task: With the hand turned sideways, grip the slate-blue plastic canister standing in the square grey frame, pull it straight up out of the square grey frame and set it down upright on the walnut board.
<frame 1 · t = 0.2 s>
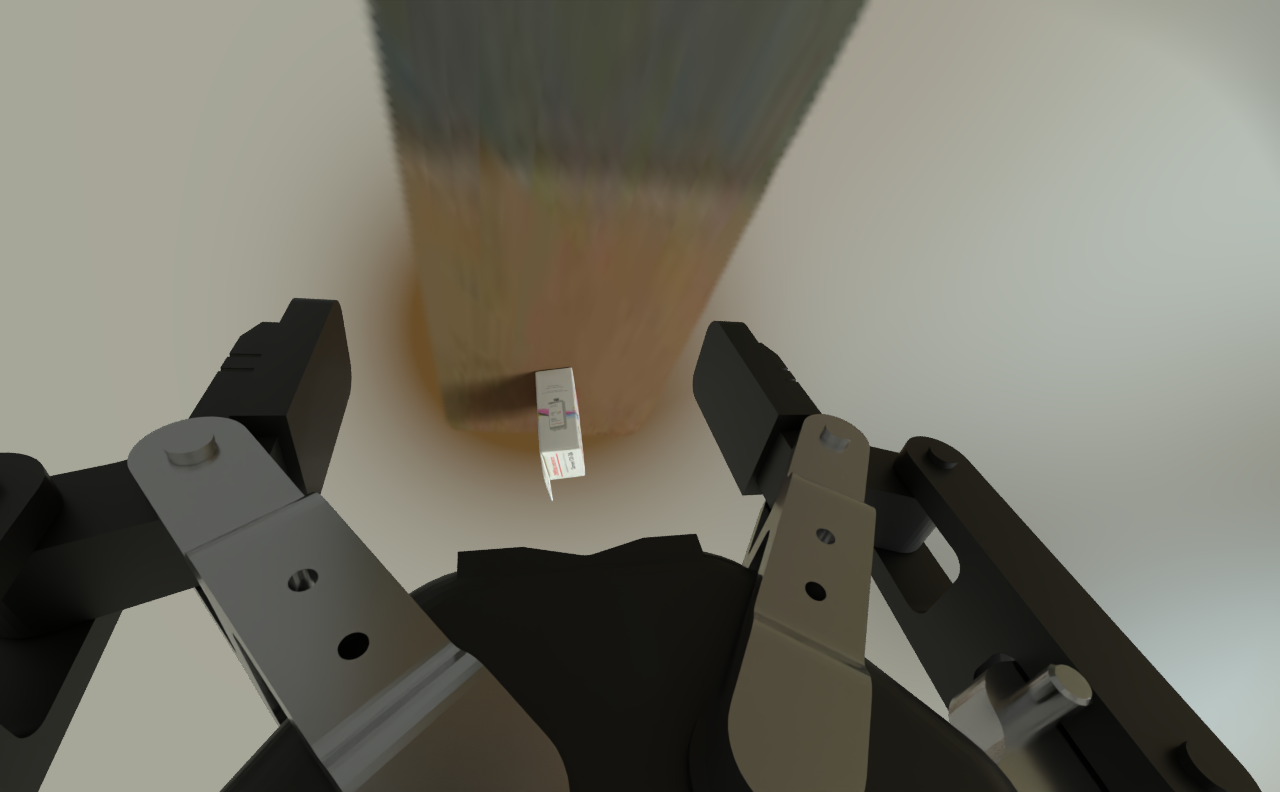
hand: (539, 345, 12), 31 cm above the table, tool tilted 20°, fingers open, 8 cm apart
ink cartridge box: (557, 384, 71), on the table
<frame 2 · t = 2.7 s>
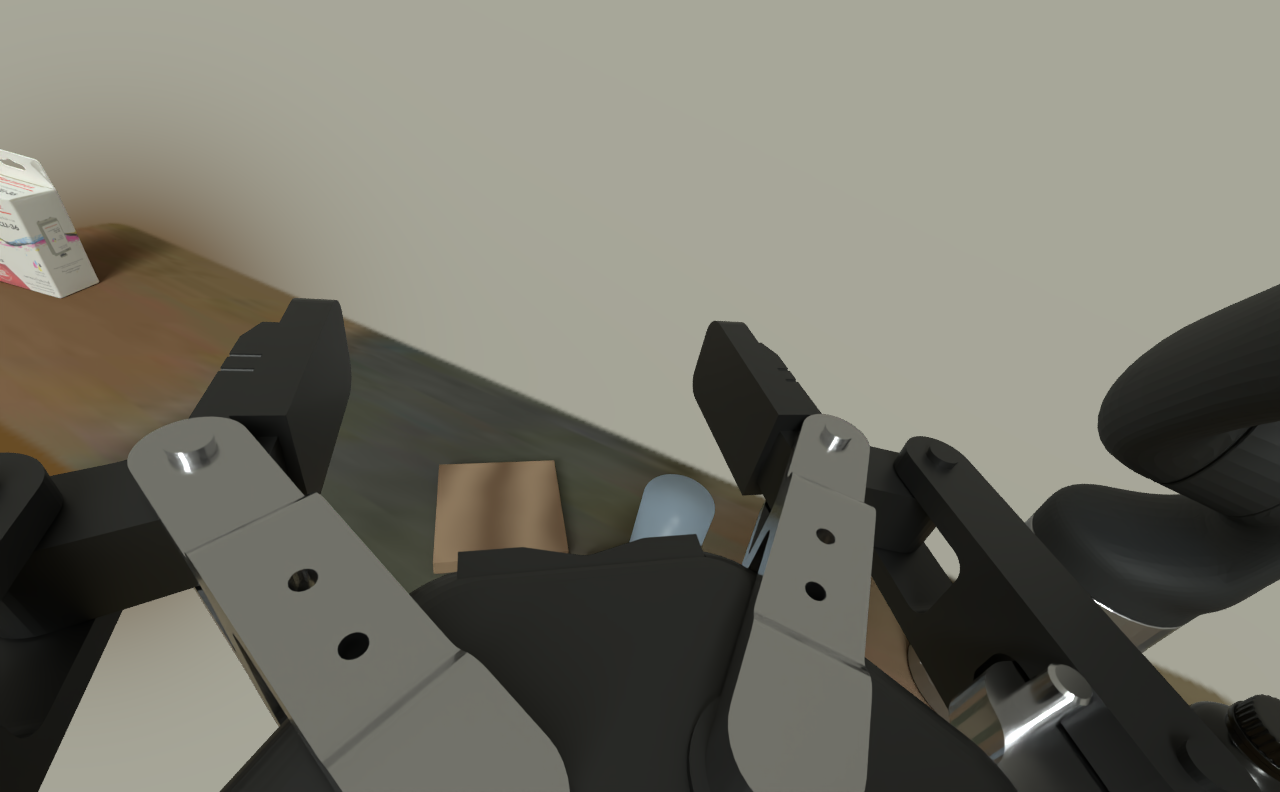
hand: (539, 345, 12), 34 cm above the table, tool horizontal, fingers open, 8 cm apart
ink cartridge box: (50, 284, 64), on the table
canister: (658, 561, 40), in the square grey frame
walnut board: (500, 516, 50), on the table
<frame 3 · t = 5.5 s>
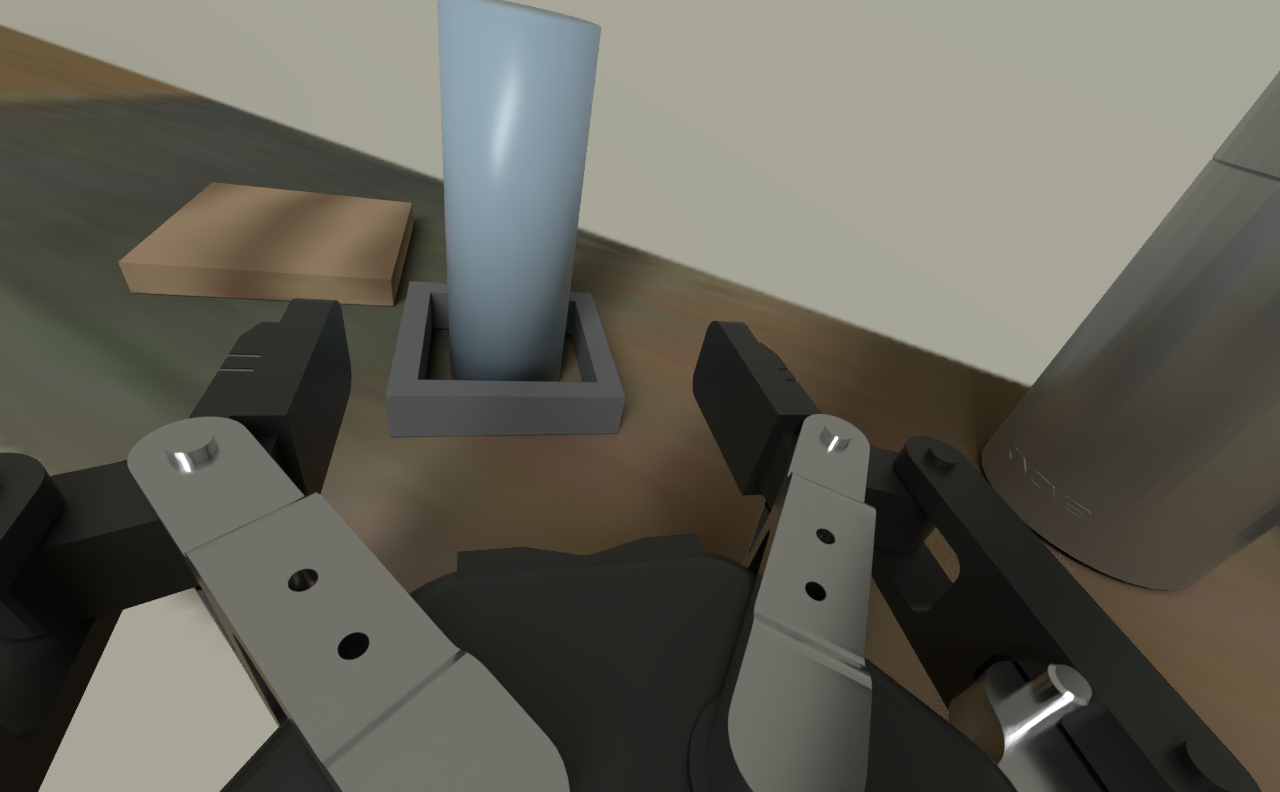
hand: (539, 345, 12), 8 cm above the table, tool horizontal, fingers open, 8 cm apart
canister: (512, 226, 21), in the square grey frame
square grey frame: (506, 370, 25), on the table
walnut board: (299, 252, 30), on the table
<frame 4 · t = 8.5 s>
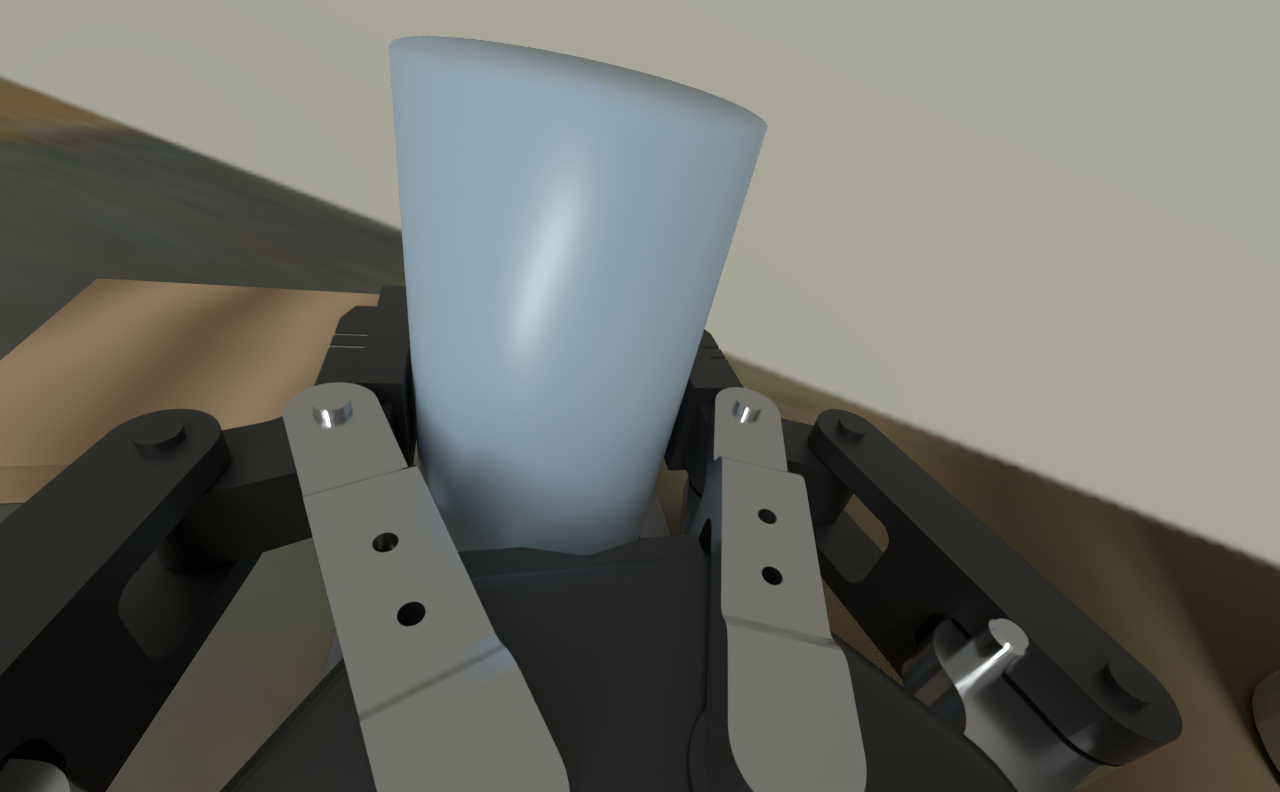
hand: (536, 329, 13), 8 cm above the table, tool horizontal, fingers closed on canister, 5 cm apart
canister: (544, 449, 11), in the square grey frame, touching gripper
square grey frame: (522, 622, 16), on the table
walnut board: (215, 388, 21), on the table
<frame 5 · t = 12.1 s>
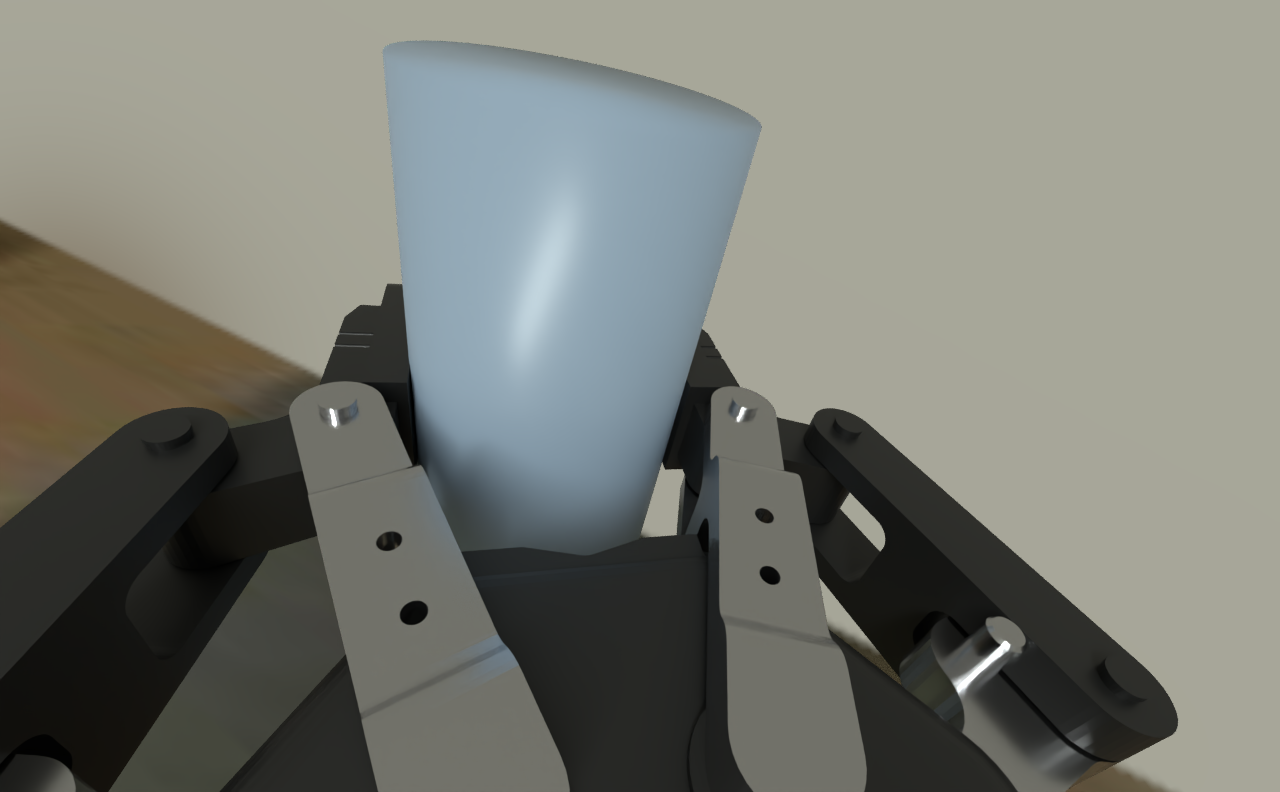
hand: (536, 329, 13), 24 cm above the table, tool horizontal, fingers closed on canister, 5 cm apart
canister: (543, 451, 11), point 22 cm above the table, touching gripper
when the fingers open (11 cm above the table, at t = 15.5 s): canister drops 1 cm, resting on walnut board.
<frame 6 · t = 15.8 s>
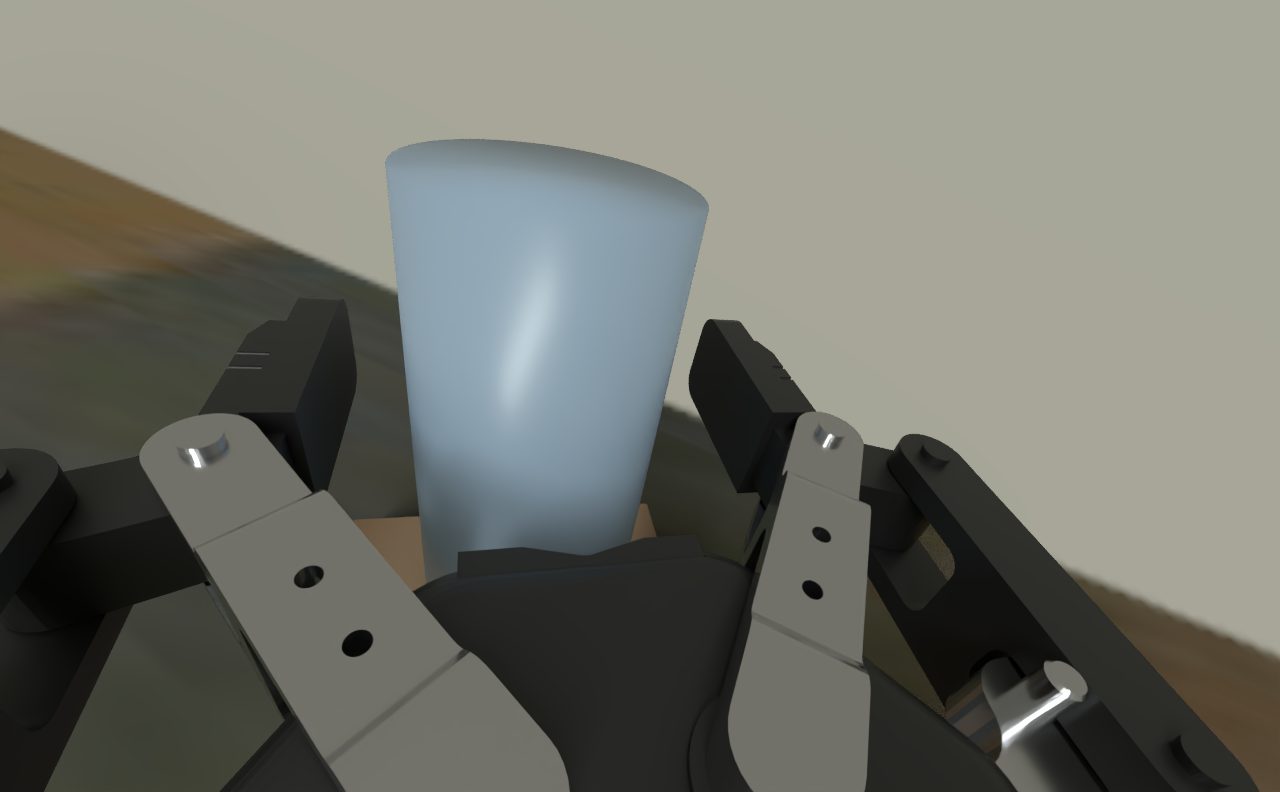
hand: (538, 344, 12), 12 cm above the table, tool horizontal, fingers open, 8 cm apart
canister: (533, 488, 12), on the walnut board, point 9 cm above the table
walnut board: (517, 672, 17), on the table
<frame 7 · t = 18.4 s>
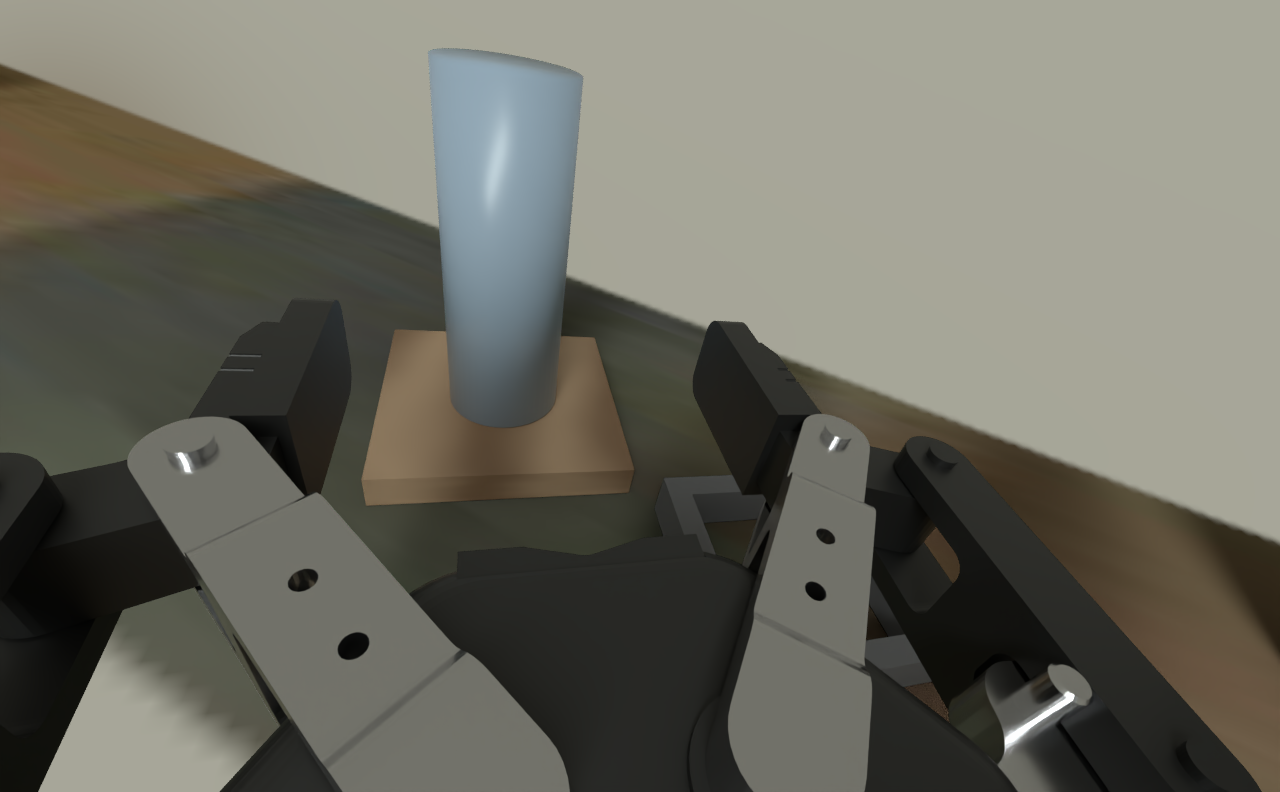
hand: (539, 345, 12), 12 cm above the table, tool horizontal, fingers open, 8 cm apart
canister: (505, 260, 22), on the walnut board, point 9 cm above the table
square grey frame: (783, 586, 22), on the table
walnut board: (502, 416, 27), on the table
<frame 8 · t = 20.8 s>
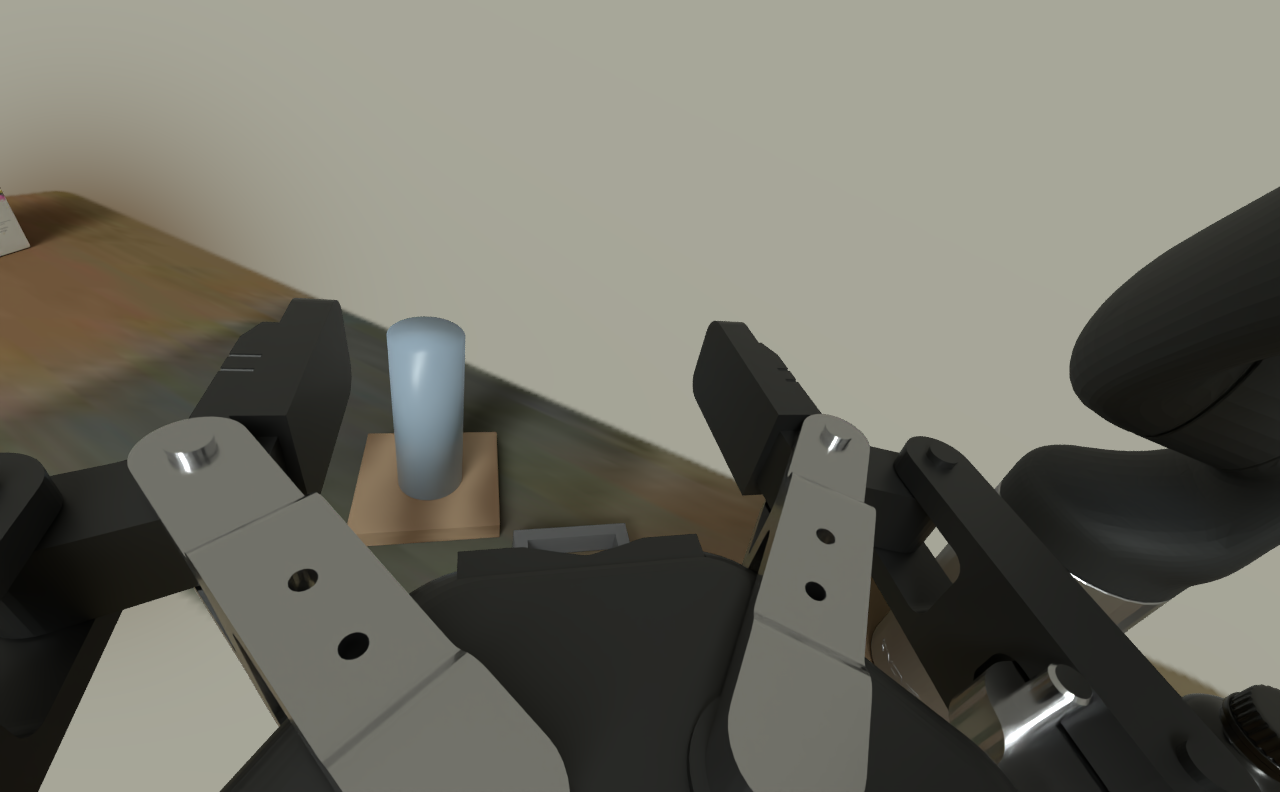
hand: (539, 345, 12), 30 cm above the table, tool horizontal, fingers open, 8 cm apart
canister: (428, 413, 41), on the walnut board, point 9 cm above the table
square grey frame: (575, 590, 41), on the table
walnut board: (431, 488, 46), on the table
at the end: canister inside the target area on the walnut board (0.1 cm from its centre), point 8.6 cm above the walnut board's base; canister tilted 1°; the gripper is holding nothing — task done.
